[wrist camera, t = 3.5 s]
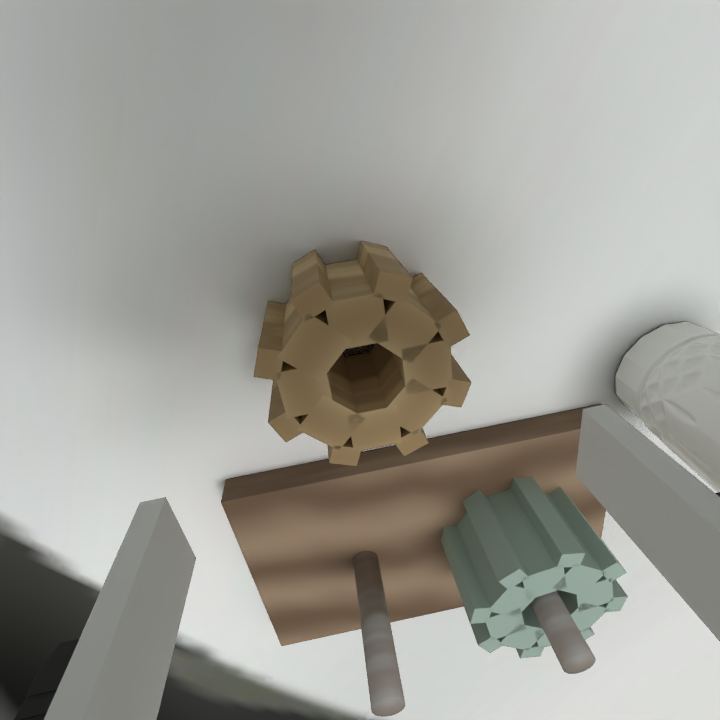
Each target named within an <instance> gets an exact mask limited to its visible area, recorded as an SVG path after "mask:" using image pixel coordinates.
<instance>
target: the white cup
mask: <svg viewBox="0 0 720 720" xmlns="http://www.w3.org/2000/svg"><path fill="white" fill-rule="evenodd" d="M615 381H616V394H617V396H618V397H619V398H620V400H621V401H622V402H623V403H624V405H625V406H626V407H627V408H628V409H629V410H630V411H631V412H632V413H634V414H635V415H636V416H637V417H638V418H639V419H640V420H642V421H643V422H644V424H645V425H646V427H647V428H648V429H649V430H650V431H651V432H652V433H653V434H655V435H656V436H657V437H658V438H659V439H660V440H661V441H662V442H663V443H664V444H665V445H666V446H667V447H668V448H669V449H670V450H671V451H672V452H673V453H675V454H676V455H677V456H678V457H679V458H680V459H681V460H682V461H683V462H684V463H686V464H687V465H688V466H689V467H690V468H691V469H692V470H693V471H695V472H696V473H697V474H698V475H699V476H700V477H701V478H702V479H703V480H705V481H706V482H707V483H708V484H709V485H710V486H711V487H712V488H713V489H715V490H716V491H717V492H720V334H718V333H715V332H713V331H710V330H708V329H705V328H703V327H700V326H698V325H695V324H693V323H690V322H681V323H673V324H666V325H663V326H661V327H659V328H657V329H655V330H654V331H652V332H650V333H648V334H646V335H644V336H643V337H641V338H640V339H639V340H638V341H637V342H636V343H635V344H634V346H633V347H632V348H631V349H630V350H629V351H628V352H627V353H626V354H625V355H624V357H623V359H622V361H621V364H620V366H619V368H618V370H617V373H616V375H615Z"/></svg>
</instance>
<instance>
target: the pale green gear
mask: <svg viewBox="0 0 720 720" xmlns="http://www.w3.org/2000/svg"><path fill="white" fill-rule="evenodd" d="M462 502H463V504H464V506H465V509H466V511H467V513H466V514H465V516H464V517H463V518H462V520H461V521H460V522H459V523H458V525H456V526H444V528H443V532H442V537H441V542H442V545H443V548H444V551H445V554H446V556H447V559H448V562H449V565H450V568H451V571H452V573H453V576H454V579H455V582H456V585H457V588H458V590H459V593H460V596H461V599H462V602H463V604H464V607H465V610H466V613H467V616H468V619H469V621H470V624H471V626H472V629H473V632H474V635H475V638H476V641H477V643H478V645H479V646H480V647H482V648H483V649H485V650H486V651H488V652H489V653H491V652H493V651H494V650H496V649H498V648H499V647H501V646H507V647H513V648H516V650H517V652H518V654H519V657H520V658H528V657H538V656H541V653H542V651H543V649H544V647H547V646H550V645H551V644H550V642H549V640H548V638H547V636H546V634H545V632H544V630H543V628H542V626H541V624H540V622H539V620H538V618H537V616H536V614H535V612H534V610H533V608H532V606H531V604H530V603H531V602H532V601H533V600H534V599H535V598H536V597H539V596H542V595H545V594H548V593H551V592H554V591H557V592H558V594H559V596H560V598H561V599H562V601H563V603H564V605H565V606H566V608H567V610H568V612H569V613H570V615H571V617H572V618H573V620H574V622H575V624H576V625H577V627H578V629H579V631H580V632H581V634H582V636H583V638H584V639H587V638H589V637H591V636H593V635H594V632H593V630H592V629H591V626H592V625H593V624H594V623H595V622H596V621H597V620H598V619H599V618H600V617H601V616H602V615H603V614H604V613H605V612H613V611H620V610H621V608H622V606H623V604H624V602H625V601H626V599H627V597H628V596H627V595H626V593H625V592H624V591H623V589H622V588H621V586H620V585H619V584H618V582H617V581H616V579H617V578H618V577H620V576H622V575H623V574H625V573H627V572H626V571H625V570H624V568H623V567H622V566H621V564H620V563H619V562H618V560H617V559H616V558H615V556H614V555H613V554H612V553H611V551H610V550H609V549H608V547H607V546H606V545H605V543H604V542H603V541H602V539H601V538H600V537H599V535H598V534H597V533H596V532H595V530H594V529H593V528H592V526H591V525H590V524H589V522H588V521H587V520H586V518H585V517H584V516H583V515H582V513H581V512H580V511H579V509H578V508H577V507H576V505H575V504H574V503H573V501H572V500H571V499H570V497H569V496H568V495H567V494H566V493H565V492H564V491H563V490H562V488H561V487H559V488H557V489H556V490H554V491H553V492H551V493H550V494H545V493H543V491H542V490H541V488H540V487H539V486H538V484H537V483H536V481H535V480H534V478H533V477H531V478H513V481H512V485H511V488H510V489H509V490H506V491H503V492H500V493H497V494H494V495H491V496H488V497H486V496H485V495H484V494H483V493H482V492H480V491H479V490H478V491H477V492H475V493H474V494H472V495H471V496H469V497H468V498H467V499H465V500H464V501H462Z"/></svg>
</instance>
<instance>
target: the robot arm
mask: <svg viewBox="0 0 720 720" xmlns="http://www.w3.org/2000/svg"><path fill="white" fill-rule="evenodd" d="M576 476H577V477H578V478H579V479H580V480H581V482H582V483H583V484H584V485H585V486H586V487H587V488H588V490H589V491H590V492H591V493H592V494H593V495H594V497H595V498H596V499H597V500H598V501H599V502H600V504H601V505H602V506H603V507H604V508H605V509H606V510H607V512H608V513H609V514H610V515H611V516H612V517H613V519H614V520H615V521H616V522H617V523H618V524H619V525H620V527H621V528H622V529H623V530H624V531H625V532H626V534H627V535H628V536H629V537H630V538H631V539H632V541H633V542H634V543H635V544H636V545H637V546H638V547H639V549H640V550H641V551H642V552H643V553H644V554H645V556H646V557H647V558H648V559H649V560H650V561H651V562H652V564H653V565H654V566H655V567H656V568H657V569H658V571H659V572H660V573H661V574H662V575H663V576H664V577H665V579H666V580H667V581H668V582H669V583H670V584H671V586H672V587H673V588H674V589H675V590H676V591H677V593H678V594H679V595H680V596H681V597H682V598H683V599H684V601H685V602H686V603H687V604H688V605H689V606H690V608H691V609H692V610H693V611H694V612H695V613H696V614H697V616H698V617H699V618H700V619H701V620H702V621H703V623H704V624H705V625H706V626H707V627H708V628H709V630H710V631H711V632H712V633H713V634H714V635H715V636H716V638H717V639H718V640H719V641H720V492H718V493H714V492H713V491H712V490H711V489H709V488H708V487H707V486H706V485H704V484H703V483H702V482H701V481H700V480H698V479H697V478H696V477H695V476H693V475H692V474H691V473H690V472H688V471H687V470H686V469H685V468H684V467H682V466H681V465H680V464H679V463H677V462H676V461H675V460H674V459H673V458H671V457H670V456H669V455H668V454H666V453H665V452H664V451H663V450H661V449H660V448H659V447H658V446H657V445H655V444H654V443H653V442H652V441H650V440H649V439H648V438H647V437H646V436H644V435H643V434H642V433H641V432H639V431H638V430H637V429H636V428H634V427H633V426H632V425H631V424H630V423H628V422H627V421H626V420H625V419H623V418H622V417H621V416H620V415H619V414H617V413H616V412H615V411H614V410H612V409H611V408H610V407H609V406H608V405H606V404H604V405H599V406H595V407H590V408H585V409H583V412H582V421H581V430H580V439H579V448H578V457H577V466H576ZM195 560H196V557H195V555H194V553H193V551H192V549H191V547H190V545H189V543H188V541H187V539H186V537H185V535H184V533H183V531H182V529H181V527H180V525H179V523H178V521H177V519H176V517H175V515H174V513H173V511H172V509H171V507H170V505H169V503H168V501H167V499H166V497H165V498H160V499H155V500H150V501H146V502H141V503H140V504H139V506H138V508H137V511H136V513H135V515H134V517H133V520H132V522H131V524H130V526H129V529H128V531H127V533H126V535H125V538H124V540H123V542H122V544H121V547H120V549H119V551H118V553H117V556H116V558H115V560H114V562H113V565H112V567H111V569H110V571H109V574H108V576H107V578H106V580H105V583H104V585H103V587H102V589H101V592H100V594H99V596H98V599H97V601H96V603H95V605H94V608H93V610H92V612H91V615H90V617H89V619H88V621H87V624H86V626H85V628H84V630H83V632H82V635H81V637H80V638H79V639H75V640H70V641H66V642H62V643H60V644H59V645H58V646H57V648H56V649H55V650H54V651H53V653H52V654H51V655H50V657H49V658H48V659H47V660H46V661H45V663H44V664H43V665H42V666H41V668H40V669H39V671H38V673H37V675H36V677H35V679H34V681H33V683H32V685H31V687H30V689H29V691H28V693H27V695H26V701H25V702H23V703H22V705H21V707H20V709H19V711H18V713H17V715H16V717H15V719H14V720H156V718H157V715H158V711H159V707H160V703H161V698H162V694H163V690H164V686H165V682H166V678H167V674H168V670H169V666H170V662H171V658H172V654H173V650H174V646H175V641H176V637H177V633H178V629H179V625H180V621H181V617H182V613H183V609H184V605H185V601H186V597H187V593H188V589H189V584H190V580H191V576H192V572H193V568H194V564H195Z"/></svg>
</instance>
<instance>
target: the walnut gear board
mask: <svg viewBox="0 0 720 720" xmlns="http://www.w3.org/2000/svg"><path fill="white" fill-rule="evenodd" d="M599 405H602V404H599ZM599 405H594V406H589V407H585V408H590V407H595V406H599ZM585 408H580V409H575V410H570V411H565V412H560V413H555V414H550V415H545V416H540V417H535V418H530V419H525V420H520V421H515V422H510V423H505V424H500V425H495V426H490V427H485V428H480V429H475V430H470V431H465V432H460V433H455V434H450V435H445V436H441V437H436V438H431V439H427V440H428V444H426V445H424V446H422V447H420V448H419V449H417V450H415V451H413V452H411V453H410V454H408V455H406V456H404V455H403V454H402V453H401V451H400V450H399V448H398V447H397V446H391V447H386V448H381V449H376V450H371V451H366V452H361V453H360V456H359V460H358V463H357V466H351V465H342V464H333V463H329V459H326V460H321V461H316V462H311V463H306V464H301V465H297V466H292V467H287V468H282V469H277V470H272V471H267V472H262V473H257V474H252V475H247V476H242V477H237V478H232V479H227V480H226V482H225V487H224V491H223V496H222V500H221V503H222V506H223V508H224V510H225V513H226V515H227V518H228V520H229V522H230V525H231V527H232V529H233V532H234V534H235V537H236V539H237V541H238V544H239V546H240V548H241V551H242V553H243V556H244V558H245V560H246V563H247V565H248V567H249V570H250V572H251V575H252V577H253V579H254V582H255V584H256V586H257V589H258V591H259V594H260V596H261V598H262V601H263V603H264V605H265V608H266V610H267V613H268V615H269V617H270V620H271V622H272V625H273V627H274V629H275V632H276V634H277V636H278V639H279V641H280V644H281V646H284V645H289V644H294V643H298V642H303V641H307V640H312V639H317V638H321V637H326V636H330V635H335V634H339V633H344V632H349V631H353V630H358V629H362V637H363V645H364V653H365V661H366V669H367V677H368V685H369V694H370V702H371V710H372V713H373V714H375V715H377V716H391V715H394V714H397V713H399V712H400V711H402V710H403V709H404V707H405V701H404V695H403V690H402V685H401V679H400V674H399V668H398V663H397V658H396V652H395V647H394V641H393V636H392V631H391V625H390V622H394V621H399V620H404V619H408V618H413V617H417V616H422V615H426V614H431V613H436V612H440V611H445V610H449V609H454V608H459V607H463V606H464V604H463V602H462V599H461V596H460V593H459V590H458V588H457V585H456V582H455V579H454V576H453V573H452V571H451V568H450V565H449V562H448V559H447V556H446V554H445V551H444V548H443V545H442V542H441V537H442V532H443V528H444V526H456V525H458V523H459V522H460V521H461V520H462V518H463V517H464V516H465V514H466V513H467V511H466V509H465V506H464V504H463V502H462V501H464V500H465V499H467V498H468V497H469V496H471V495H472V494H474V493H475V492H477V491H478V490H479V491H480V492H482V493H483V494H484V495H485V496H486V497H488V496H491V495H494V494H497V493H500V492H503V491H506V490H509V489H510V488H511V485H512V481H513V478H531V477H533V478H534V480H535V481H536V483H537V484H538V486H539V487H540V488H541V490H542V491H543V493H545V494H550V493H551V492H553V491H554V490H556V489H557V488H559V487H561V488H562V490H563V491H564V492H565V493H566V494H567V495H568V496H569V497H570V499H571V500H572V501H573V503H574V504H575V505H576V507H577V508H578V509H579V511H580V512H581V513H582V515H583V516H584V517H585V518H586V520H587V521H588V522H589V524H590V525H591V526H592V528H593V529H594V530H595V532H596V533H597V534H598V535H599V537H600V538H601V535H602V529H603V523H604V517H605V512H606V509H605V508H604V507H603V506H602V505H601V504H600V502H599V501H598V500H597V499H596V498H595V497H594V495H593V494H592V493H591V492H590V491H589V490H588V488H587V487H586V486H585V485H584V484H583V483H582V482H581V480H580V479H579V478H578V477H577V476H576V466H577V457H578V448H579V439H580V430H581V421H582V412H583V409H585ZM530 604H531V606H532V608H533V610H534V612H535V614H536V616H537V618H538V620H539V622H540V624H541V626H542V628H543V630H544V632H545V634H546V636H547V638H548V640H549V642H550V644H551V646H552V648H553V650H554V652H555V654H556V656H557V658H558V660H559V662H560V664H561V666H562V668H563V670H564V672H566V673H569V674H575V673H580V672H583V671H585V670H587V669H589V668H590V667H591V666H592V665H593V664H594V663H595V657H594V655H593V653H592V652H591V650H590V648H589V646H588V645H587V643H586V641H585V639H584V638H583V636H582V634H581V632H580V631H579V629H578V627H577V625H576V624H575V622H574V620H573V618H572V617H571V615H570V613H569V612H568V610H567V608H566V606H565V605H564V603H563V601H562V599H561V598H560V596H559V594H558V592H557V591H554V592H551V593H548V594H545V595H542V596H539V597H536V598H535V599H534V600H533V601H532V602H531V603H530Z"/></svg>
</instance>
